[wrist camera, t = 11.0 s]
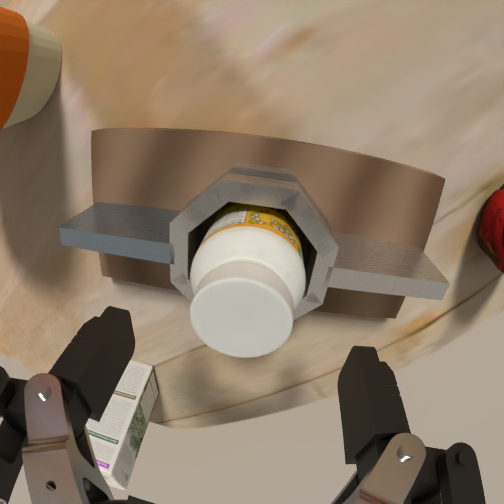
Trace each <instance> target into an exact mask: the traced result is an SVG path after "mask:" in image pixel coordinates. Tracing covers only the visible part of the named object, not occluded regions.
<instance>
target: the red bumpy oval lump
mask: <svg viewBox="0 0 504 504" xmlns="http://www.w3.org/2000/svg"><path fill="white" fill-rule="evenodd" d="M477 240H478V244H479V246H480V248H481V249H482V250H483V251H484V252H485V253H486V255H488V256H489V257H490V258H491V259H492V261H493V263H494V264H495V265H496V267H497V268H498V269H499V270H500V271H501V272H503V273H504V184H503V186H502V189H501V190H496V191H495V192H494V193H493V194H492V195H491V197H490V198H489V200H488V201H487V203H486V205H485V208H484V211H483V213H482V216H481V223H480V225H479V228H478V230H477Z"/></svg>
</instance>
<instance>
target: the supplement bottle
mask: <svg viewBox="0 0 504 504" xmlns="http://www.w3.org/2000/svg"><path fill="white" fill-rule="evenodd" d="M190 281H191V287H192V291H193V293H194V297H193V300H192V303H191V306H190V320H191V324H192V327H193V329H194V331H195V332H196V334H197V335H198V337H199V338H200V339H201V340H202V341H203V342H204V343H205V344H206V345H208V346H209V347H211V348H212V349H214V350H216V351H218V352H220V353H223V354H226V355H229V356H234V357H241V358H252V357H259V356H263V355H266V354H269V353H271V352H273V351H275V350H277V349H278V348H279V347H280V346H282V345H283V344H284V343H285V342H286V341H287V339H288V337H289V336H290V334H291V331H292V328H293V312H294V311H295V309H296V308H297V307H298V305H299V303H300V302H301V300H302V297H303V294H304V291H305V283H306V277H305V268H304V261H303V255H302V249H301V243H300V237H299V231H298V225H297V223H296V222H295V221H294V219H293V218H292V217H291V215H290V214H289V213H288V211H287V210H286V209H279V208H272V207H265V206H258V205H251V204H243V203H236V202H227V203H226V204H225V205H223V207H222V208H221V209H220V211H219V212H218V214H217V216H216V218H215V220H214V222H213V223H212V225H211V227H210V229H209V231H208V232H207V234H206V236H205V238H204V239H203V241H202V243H201V245H200V247H199V248H198V250H197V252H196V254H195V257H194V259H193V262H192V266H191V271H190Z"/></svg>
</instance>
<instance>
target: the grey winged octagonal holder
mask: <svg viewBox="0 0 504 504" xmlns="http://www.w3.org/2000/svg"><path fill="white" fill-rule="evenodd" d="M227 202H236V203H243V204H251V205H258V206H265V207H272V208H279V209H286V210H287V211H288V213H289V214H290V215H291V217H292V218H293V219H294V221H295V222H296V223H297V225H298V226H299V227H300V229H301V230H302V231H303V233H304V234H305V238H304V243H303V248H302V255H303V261H304V268H305V277H306V283H305V291H304V294H303V297H302V300H301V302H300V303H299V305H298V307H297V308H296V309H295V311H294V312H293V320H295V319H297V318H299V317H300V316H302V315H304V314H306V313H308V312H309V311H311V310H313V309H315V308H317V307H318V306H320V305H322V304H323V301H324V297H325V294H326V291H327V287H332V288H340V289H348V290H357V291H365V292H373V293H382V294H391V295H400V296H409V297H418V298H428V299H437V300H442V299H443V297H444V295H445V293H446V290H447V288H448V286H449V284H450V283H449V282H448V281H447V280H446V278H445V277H444V276H443V275H442V273H441V272H440V271H439V270H438V269H437V267H436V266H435V265H434V264H433V263H432V261H431V260H430V259H429V258H428V257H427V256H426V254H425V253H424V252H423V251H422V250H421V249H420V247H415V246H410V245H405V244H399V243H394V242H388V241H383V240H377V239H371V238H366V237H360V236H354V235H348V234H342V233H336V232H332V230H331V227H330V225H329V222H328V220H327V218H326V215H325V213H324V212H323V211H322V209H321V208H320V206H319V205H318V203H317V202H316V201H315V199H314V198H313V196H312V195H311V194H310V192H309V191H308V190H307V188H306V187H305V185H304V184H303V183H302V181H301V180H300V179H299V177H298V176H297V175H296V173H295V172H294V171H293V170H288V169H282V168H275V167H268V166H260V165H252V164H244V163H235V164H234V165H233V166H232V167H230V168H229V169H228V170H227V171H225V172H224V173H223V174H222V175H220V176H219V177H218V178H217V179H215V180H214V181H213V182H212V183H210V184H209V185H208V186H207V187H206V188H204V189H203V190H202V191H201V192H199V193H198V194H197V195H196V196H195V197H194V198H193V199H192V200H191V201H190V202H189V203H188V204H187V205H186V206H185V207H184V208H183V209H182V210H181V211H180V210H171V209H162V208H153V207H144V206H135V205H125V204H115V203H105V202H97V203H96V204H94V205H93V206H91V207H89V208H88V209H86V210H84V211H83V212H81V213H80V214H78V215H77V216H75V217H73V218H72V219H70V220H69V221H67V222H66V223H64V224H63V225H61V226H60V227H58V228H59V234H60V240H61V245H65V246H70V247H76V248H81V249H86V250H92V251H97V252H103V253H109V254H114V255H120V256H126V257H131V258H137V259H143V260H149V261H155V262H161V263H167V264H170V279H171V283H172V284H173V285H174V286H175V287H176V288H177V289H178V290H179V291H180V292H181V293H182V294H183V295H184V296H185V297H186V298H187V299H188V300H189V301H190V302H191V303H192V300H193V297H194V293H193V291H192V287H191V281H190V271H191V266H192V262H193V259H194V257H195V254H196V252H197V250H198V248H199V247H200V245H201V243H202V241H203V239H204V238H205V236H206V234H207V232H208V225H209V216H211V215H212V214H213V213H214V212H216V211H217V210H218V209H220V208H221V207H222V206H223V205H225V204H226V203H227Z"/></svg>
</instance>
